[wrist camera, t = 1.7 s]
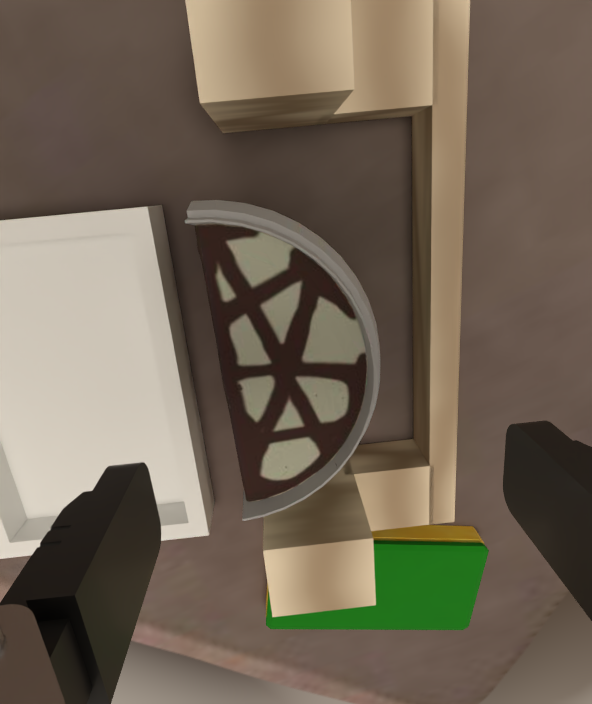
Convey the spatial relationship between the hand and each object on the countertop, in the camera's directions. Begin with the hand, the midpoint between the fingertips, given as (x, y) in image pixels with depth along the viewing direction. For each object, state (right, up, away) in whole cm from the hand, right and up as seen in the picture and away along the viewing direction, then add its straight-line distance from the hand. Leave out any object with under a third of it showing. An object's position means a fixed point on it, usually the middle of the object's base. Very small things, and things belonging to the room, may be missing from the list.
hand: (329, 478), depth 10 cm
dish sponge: (+4, -12, +22) cm, 25 cm away
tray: (-13, +1, +16) cm, 20 cm away
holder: (+2, +5, +15) cm, 16 cm away
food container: (-1, +5, +15) cm, 16 cm away
